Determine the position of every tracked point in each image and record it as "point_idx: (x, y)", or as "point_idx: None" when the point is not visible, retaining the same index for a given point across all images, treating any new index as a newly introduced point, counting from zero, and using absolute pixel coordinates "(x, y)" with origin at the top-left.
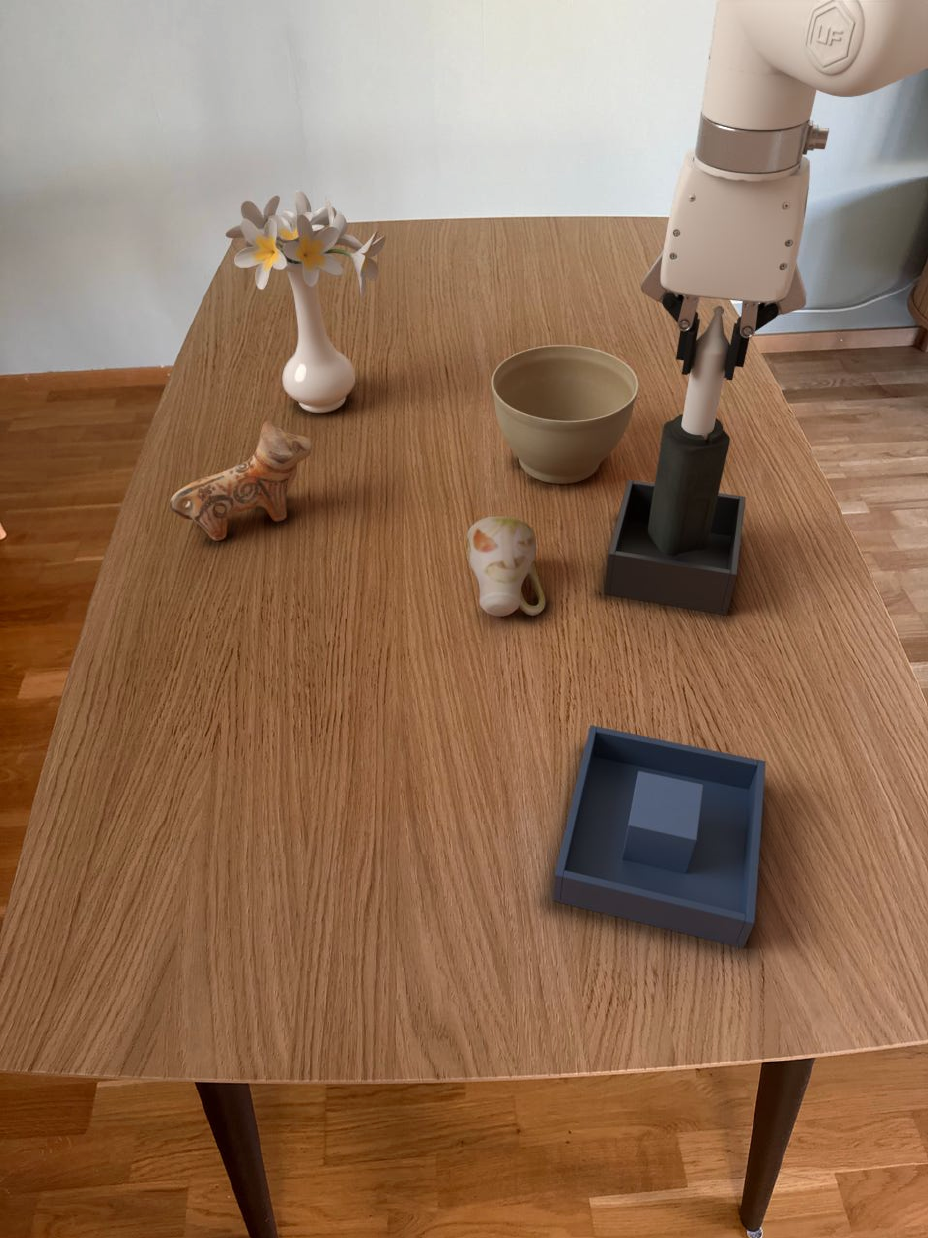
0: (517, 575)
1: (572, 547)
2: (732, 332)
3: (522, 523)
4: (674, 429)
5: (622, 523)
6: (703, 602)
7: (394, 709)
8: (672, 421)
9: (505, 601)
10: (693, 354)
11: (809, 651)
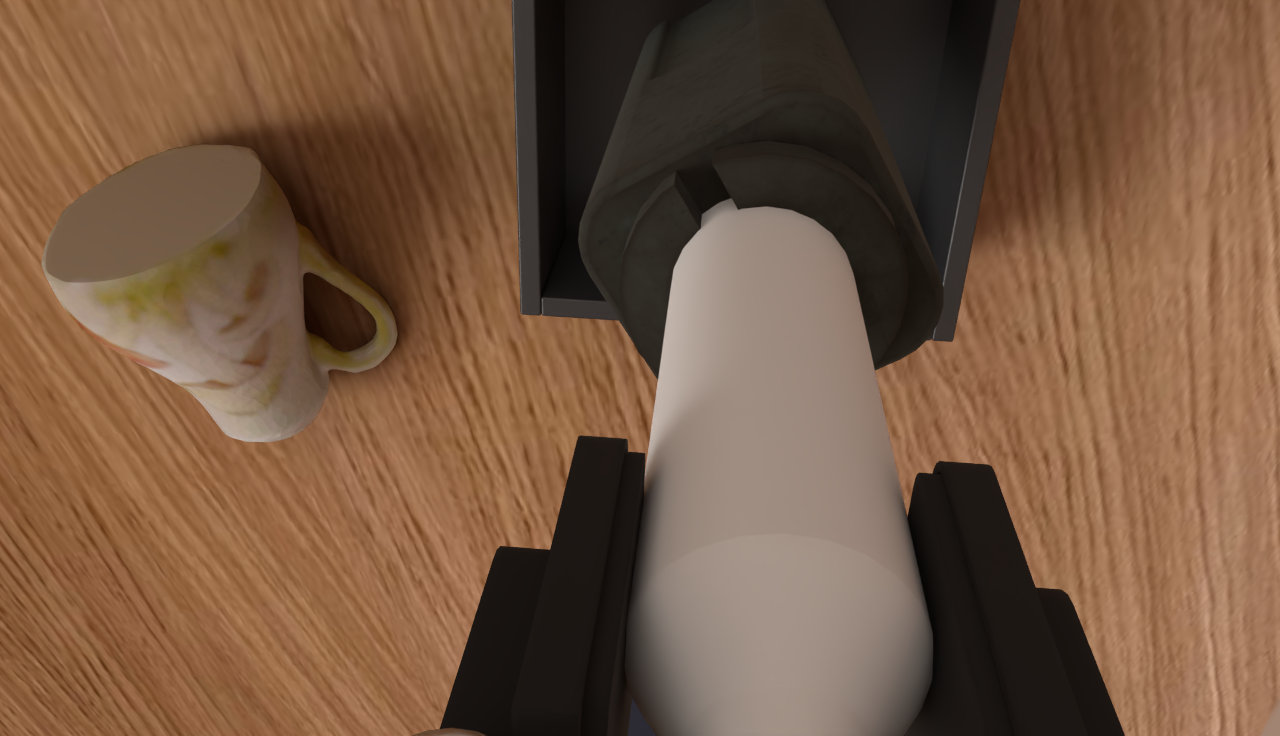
0: (278, 369)
1: (402, 38)
2: (963, 683)
3: (195, 266)
4: (636, 344)
5: (538, 147)
6: None
7: (191, 639)
8: (621, 203)
9: (286, 436)
10: (625, 727)
11: (1151, 353)
